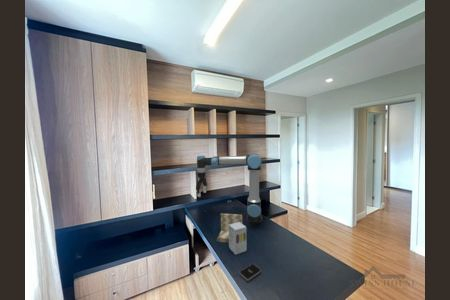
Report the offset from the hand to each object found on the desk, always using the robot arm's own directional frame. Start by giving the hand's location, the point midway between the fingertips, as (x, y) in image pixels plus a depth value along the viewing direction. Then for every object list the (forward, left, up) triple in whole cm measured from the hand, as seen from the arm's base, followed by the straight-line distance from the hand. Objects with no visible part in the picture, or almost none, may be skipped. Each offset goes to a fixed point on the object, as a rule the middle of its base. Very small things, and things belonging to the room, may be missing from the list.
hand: (202, 194), depth 157 cm
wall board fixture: (-30, +18, -28) cm, 44 cm away
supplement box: (-38, +33, -28) cm, 57 cm away
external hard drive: (-48, +54, -28) cm, 78 cm away
